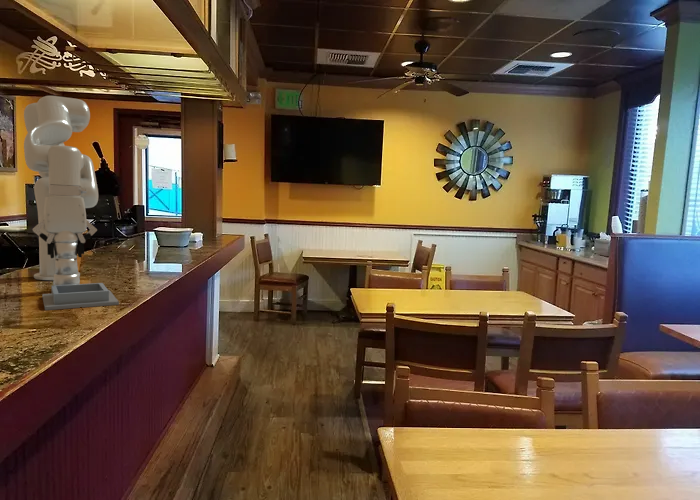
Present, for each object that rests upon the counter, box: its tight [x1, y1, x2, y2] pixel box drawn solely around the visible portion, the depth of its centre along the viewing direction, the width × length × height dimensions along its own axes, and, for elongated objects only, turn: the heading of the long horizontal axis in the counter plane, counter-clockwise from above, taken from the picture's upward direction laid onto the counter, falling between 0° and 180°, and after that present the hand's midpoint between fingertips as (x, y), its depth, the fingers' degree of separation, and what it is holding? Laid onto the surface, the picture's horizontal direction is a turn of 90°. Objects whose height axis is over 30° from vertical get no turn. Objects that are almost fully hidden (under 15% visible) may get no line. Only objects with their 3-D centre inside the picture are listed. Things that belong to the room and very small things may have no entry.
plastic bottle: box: [52, 230, 81, 286], centre depth 139 cm, size 6×7×20 cm
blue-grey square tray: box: [42, 282, 120, 311], centre depth 130 cm, size 16×16×3 cm
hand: (66, 256), depth 139 cm, fingers closed on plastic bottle, 6 cm apart
